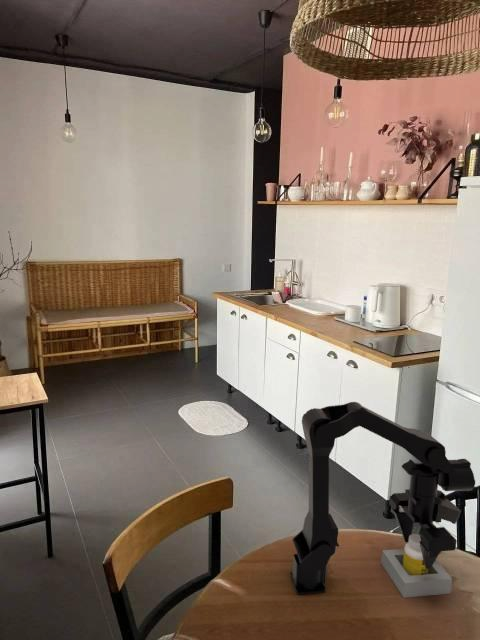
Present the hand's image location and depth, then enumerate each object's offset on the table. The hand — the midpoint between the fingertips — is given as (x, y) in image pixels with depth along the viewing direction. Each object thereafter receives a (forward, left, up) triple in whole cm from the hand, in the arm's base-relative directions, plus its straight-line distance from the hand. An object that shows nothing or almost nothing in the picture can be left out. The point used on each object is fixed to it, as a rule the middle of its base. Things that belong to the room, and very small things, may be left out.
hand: (417, 554), depth 106 cm
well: (0, 0, -6) cm, 6 cm away
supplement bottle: (0, 0, -6) cm, 6 cm away
